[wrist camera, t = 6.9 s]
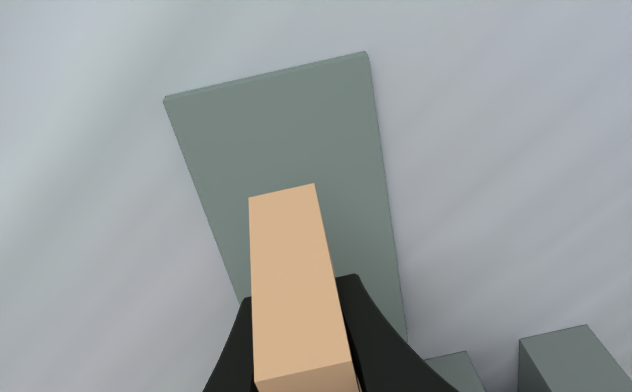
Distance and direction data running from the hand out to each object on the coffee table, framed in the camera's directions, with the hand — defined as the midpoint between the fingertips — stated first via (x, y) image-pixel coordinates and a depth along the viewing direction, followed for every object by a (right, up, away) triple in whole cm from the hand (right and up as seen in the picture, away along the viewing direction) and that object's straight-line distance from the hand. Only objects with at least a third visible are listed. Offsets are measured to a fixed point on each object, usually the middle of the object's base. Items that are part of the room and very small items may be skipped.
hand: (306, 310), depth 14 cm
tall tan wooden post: (0, -1, +4) cm, 4 cm away
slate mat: (0, +1, +9) cm, 9 cm away
